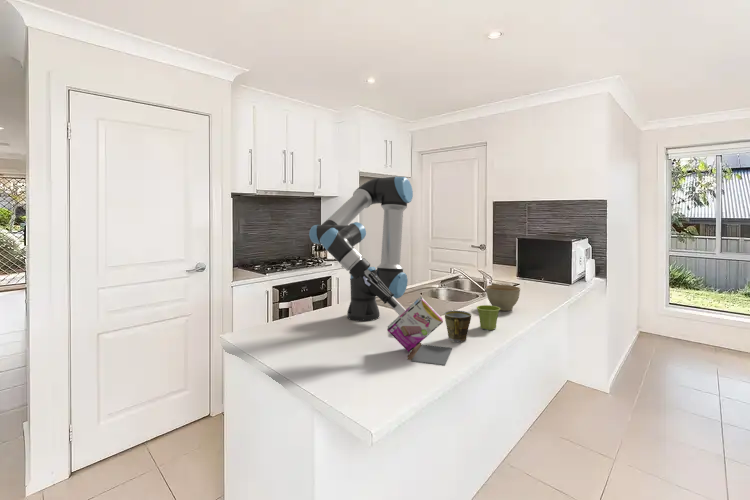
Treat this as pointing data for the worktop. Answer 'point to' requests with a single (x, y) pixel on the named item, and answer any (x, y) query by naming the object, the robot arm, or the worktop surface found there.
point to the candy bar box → (415, 324)
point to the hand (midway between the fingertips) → (403, 312)
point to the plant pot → (488, 316)
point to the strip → (413, 352)
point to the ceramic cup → (457, 325)
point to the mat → (432, 354)
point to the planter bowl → (503, 296)
